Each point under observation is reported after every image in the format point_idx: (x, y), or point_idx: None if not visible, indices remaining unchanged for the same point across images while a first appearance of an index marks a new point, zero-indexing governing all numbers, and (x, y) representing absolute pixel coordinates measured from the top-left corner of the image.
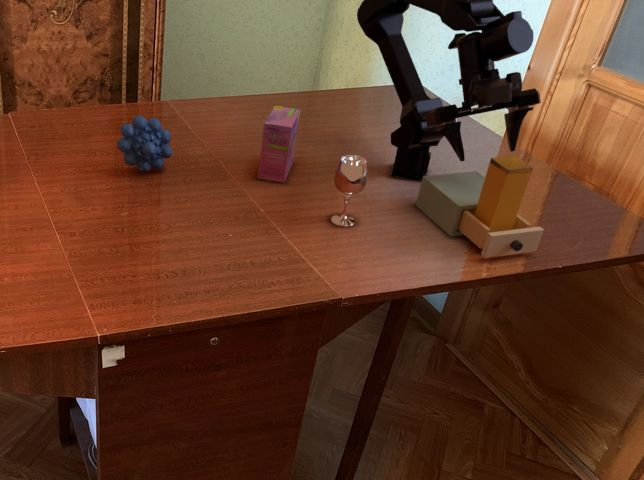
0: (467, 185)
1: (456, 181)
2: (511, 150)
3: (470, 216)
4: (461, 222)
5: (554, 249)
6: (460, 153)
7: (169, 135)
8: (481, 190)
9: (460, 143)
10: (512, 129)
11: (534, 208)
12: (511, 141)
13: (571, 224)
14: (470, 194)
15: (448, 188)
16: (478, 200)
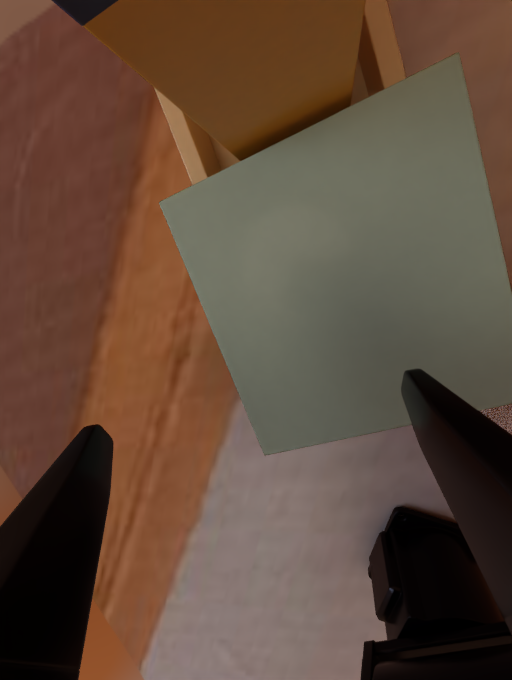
0: (337, 322)
1: (378, 357)
2: (104, 436)
3: (392, 28)
4: None
5: (88, 104)
6: (459, 400)
7: None
8: (359, 41)
9: (508, 462)
10: (28, 579)
11: (112, 362)
12: (80, 485)
13: (34, 281)
14: (350, 225)
15: (445, 277)
16: (354, 76)
